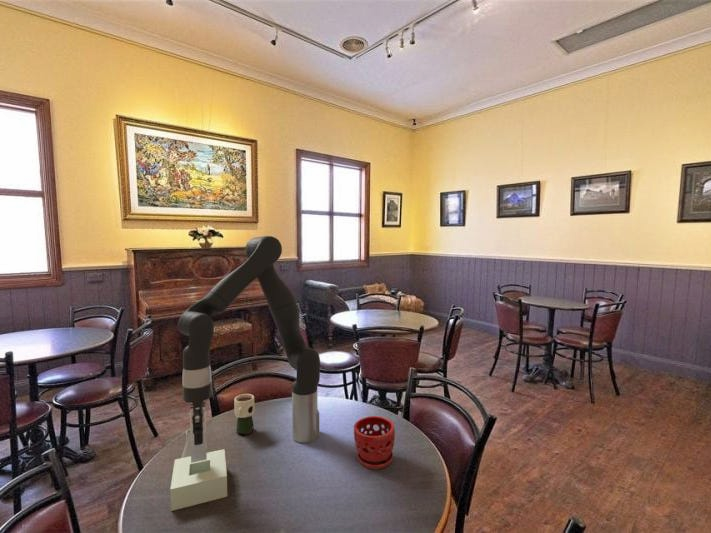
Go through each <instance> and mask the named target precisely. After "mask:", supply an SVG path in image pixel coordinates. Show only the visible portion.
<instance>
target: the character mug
mask: <svg viewBox="0 0 711 533" xmlns="http://www.w3.org/2000/svg"><path fill="white" fill-rule="evenodd" d="M233 401H234V402H233V404H234V416H235V418H236V419H237V420H236V430H235V431H236V433H238V434H244V435H245V434H246V435H247V434H250V433H252V432H253V430H254V429H255V426H254V420H253V415H254V414H255V411H256V410H255V409H256V408H255V396H254V395H253V394H251V393H242V394H239V395H236V396H235V397H234V399H233Z"/></svg>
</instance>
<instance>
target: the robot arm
mask: <svg viewBox="0 0 711 533" xmlns="http://www.w3.org/2000/svg"><path fill="white" fill-rule="evenodd" d="M244 250H245V255H246V258H247V260H245V261H244V262H243V263H242V264H241V265H240V266H238V267H237V268H236V269H234V270H232V271H231V272H230V273H228V274H227V275H225V276H224V277H223V278H222V279H220V281H219V282H217V283H216V285H214V286H213V287H212V289H211V290H209V291H208V293H207V294H206V295H205V296H204V297H202V298H201V299H199V300H198V301H197V302H195V303H193V304H192V305H191V306H190V307H188V308H187V309H186V310H185V311H184V312H183V313H182V314H181V315H180V317H179V319H178V320H177V321H178V322H177V329H178V331H179V332H180V333H181V334H182V335H183V336H187V337H188V338H189V340H188V345H187V346H186V347H185V348H184V349H183V351H182V377H181V379H182V381H181V382H182V400H183V401H184V402H185V403H189V404H190V408H189V415H190V414H191V424H193V434H194V445H200V444H202V443H203V423H204V421H205V416H204V412H205V410H206V401H207V400H209V399H210V398H211V397H212V394H213V393H212V392H213V390H212V389H213V388H212V387H213V386H212V385H213V384H212V369H211V355H210V353H211V352H210V349H211V348H212V347H211V346H212V342H213V338H214V333H215V326H214V321H213V318H212V317H214V316H216V315H221V314H222V313H224V312H225V311H226V310H227V309H228V308H229V307H230V306H231V305H232V303H233V302H234V301H236V299H237V298H238V296H240V295H241V293H242V292H243V291H244V290H245V289H246V288H247V287H248V286H249V285H251V284H252V283H253V282H254V281H255V279H257V280H258V282H259V285H260V287H261V291H262V292H263V295H264V297H265V300H266V302H267V306H268V308H269V311H270V314H271V317H272V319H273V321H274V323H275V326H276V328H277V331H278V333H279V335H280V337H281V340H282V343H283V347H284V351H285V354H286V358H287V361H288V364H289V366H290V367H291V369H294V370H295V371H296V380H294V381H293V382H292V383H291V415H292V416H291V423H292V428H291V430H292V432H291V433H292V439H293V440H294V441H295V442H297V443H310V442H313V441H315V440H316V439H318V438H320V437H321V436H320V433H321V432H320V410H319V409H318V406H319V405H318V404H319V403H318V385H319V383H320V378H321V374H320V373H321V358H320V355H319V353H318V351H317V350H316V349H314V348H312V347H310V346H309V345H307V344H306V342H305V340H304V337H303V335H302V333H301V329H300V310H299V307H298V305H297V302H296V298H295V296H294V294H293V292H292V291H291V289H290V287H289V286H288V285H287V284H286V283H285V282H284V281H283V280H282V279H281V278H280V276H279V275H278V273H277V271H276V269H275V266H274V264H275V263H276V262H277V261H278V260H279V259H280V258H281V255H282V253H283V247H282V244H281V241H280V240H279V239H278V238H276V236H272V235H264V236H258V237H253V238H250V239H249V240H247V242H246V245H245V249H244ZM202 414H203V415H202ZM193 415H194V416H193ZM202 417H203V418H202ZM195 427H198V428H195Z"/></svg>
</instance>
